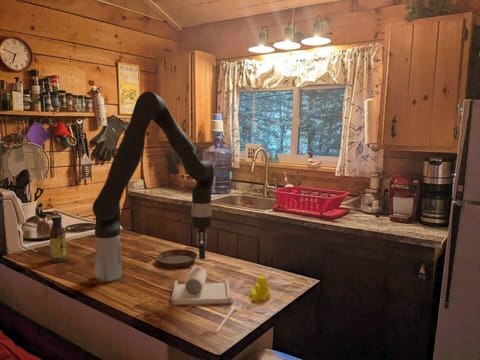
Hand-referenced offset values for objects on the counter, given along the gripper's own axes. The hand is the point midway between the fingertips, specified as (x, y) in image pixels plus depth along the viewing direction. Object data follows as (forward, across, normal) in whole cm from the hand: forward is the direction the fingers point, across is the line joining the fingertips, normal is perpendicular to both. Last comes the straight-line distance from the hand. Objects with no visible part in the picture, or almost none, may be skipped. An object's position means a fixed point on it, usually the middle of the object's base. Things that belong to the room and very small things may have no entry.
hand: (202, 258), depth 146 cm
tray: (+10, -10, 0) cm, 14 cm away
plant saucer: (+10, +24, +11) cm, 28 cm away
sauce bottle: (+10, +29, +64) cm, 70 cm away
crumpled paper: (+10, -14, -20) cm, 27 cm away
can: (+6, 0, +2) cm, 6 cm away
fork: (+10, -27, -9) cm, 30 cm away
